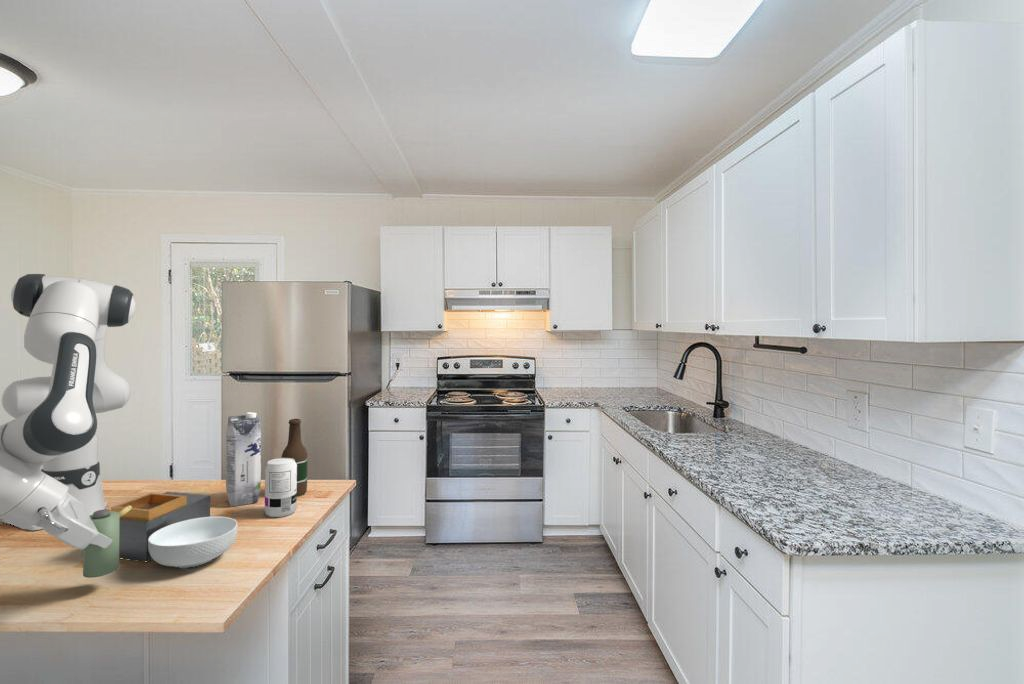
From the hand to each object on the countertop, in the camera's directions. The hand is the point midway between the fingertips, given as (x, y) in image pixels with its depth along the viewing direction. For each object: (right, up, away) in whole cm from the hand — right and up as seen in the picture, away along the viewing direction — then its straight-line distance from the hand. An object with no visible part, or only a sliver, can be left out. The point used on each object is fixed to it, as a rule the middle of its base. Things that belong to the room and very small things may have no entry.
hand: (105, 538), depth 96 cm
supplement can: (+16, -10, +41) cm, 45 cm away
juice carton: (0, -9, +49) cm, 50 cm away
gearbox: (-6, -10, +21) cm, 24 cm away
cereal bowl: (+10, -10, +12) cm, 19 cm away
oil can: (0, -6, 0) cm, 6 cm away
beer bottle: (+12, -9, +56) cm, 58 cm away
